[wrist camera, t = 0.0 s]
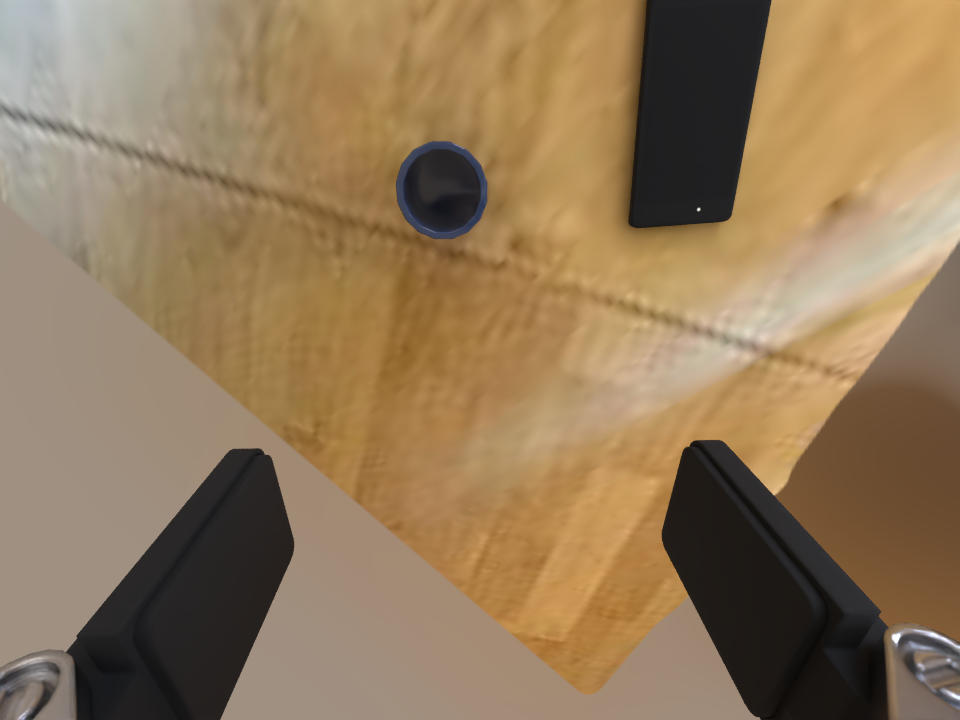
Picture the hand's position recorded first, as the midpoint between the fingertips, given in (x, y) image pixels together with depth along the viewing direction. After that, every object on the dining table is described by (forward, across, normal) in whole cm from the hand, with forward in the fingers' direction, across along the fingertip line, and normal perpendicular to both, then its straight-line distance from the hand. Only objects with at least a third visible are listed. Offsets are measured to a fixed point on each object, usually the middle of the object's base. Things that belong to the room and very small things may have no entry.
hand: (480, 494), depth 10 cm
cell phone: (+31, -18, -11) cm, 38 cm away
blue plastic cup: (+31, +2, -5) cm, 32 cm away
